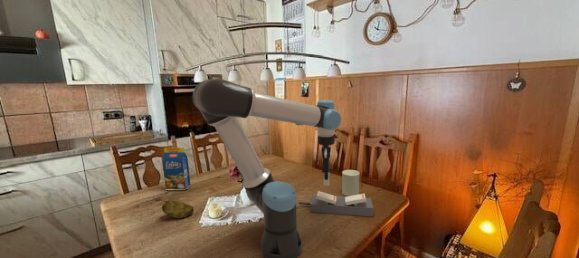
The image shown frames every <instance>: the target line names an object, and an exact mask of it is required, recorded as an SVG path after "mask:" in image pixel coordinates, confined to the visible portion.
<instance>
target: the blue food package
mask: <svg viewBox="0 0 579 258" xmlns="http://www.w3.org/2000/svg"><path fill="white" fill-rule="evenodd" d="M163 151H164V152H163V155H162V169H163V176H164V177H163V178H164V185H165V190H166V189H186V188H187V187H188V186H189V185H191V178H190V177H191V176H190V167H189V161H188V159H189V158H188V156H187V154H186V152H185V148H184V147H164V148H163Z"/></svg>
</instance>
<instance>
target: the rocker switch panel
mask: <svg viewBox="0 0 579 258" xmlns="http://www.w3.org/2000/svg"><path fill="white" fill-rule="evenodd" d="M336 196H337V197H336V204H332V203H329V202H326V201H323V200H319V199H316V197H317V194H311V199H310V201H309V202H304V201H299V202H298V205H301V206H302V205H303V206H309V212H310V213H318V214H330V215H331V214H333V215H334V214H335V215H344V216H345V215H347V216H357V217H358V216H362V217H374V205H373V203H372V198H371V197H365V198H366V202H361V203H355V204H350V205H346V203H345V197H346V196H339V195H336Z"/></svg>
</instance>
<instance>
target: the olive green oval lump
mask: <svg viewBox="0 0 579 258" xmlns="http://www.w3.org/2000/svg"><path fill="white" fill-rule="evenodd" d="M161 210H162V212H163V213H164V215H167V216H169V217H172V218H174V219H182V218H183V217H184V218H186V217H188V216H191V215H192V214H193V213H194V210H195V209H194V206H193V205H191V204H190V203H186V202H183V201H180V200H177V199H169V200H166V201H165V202H164V203H162V205H161Z"/></svg>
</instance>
